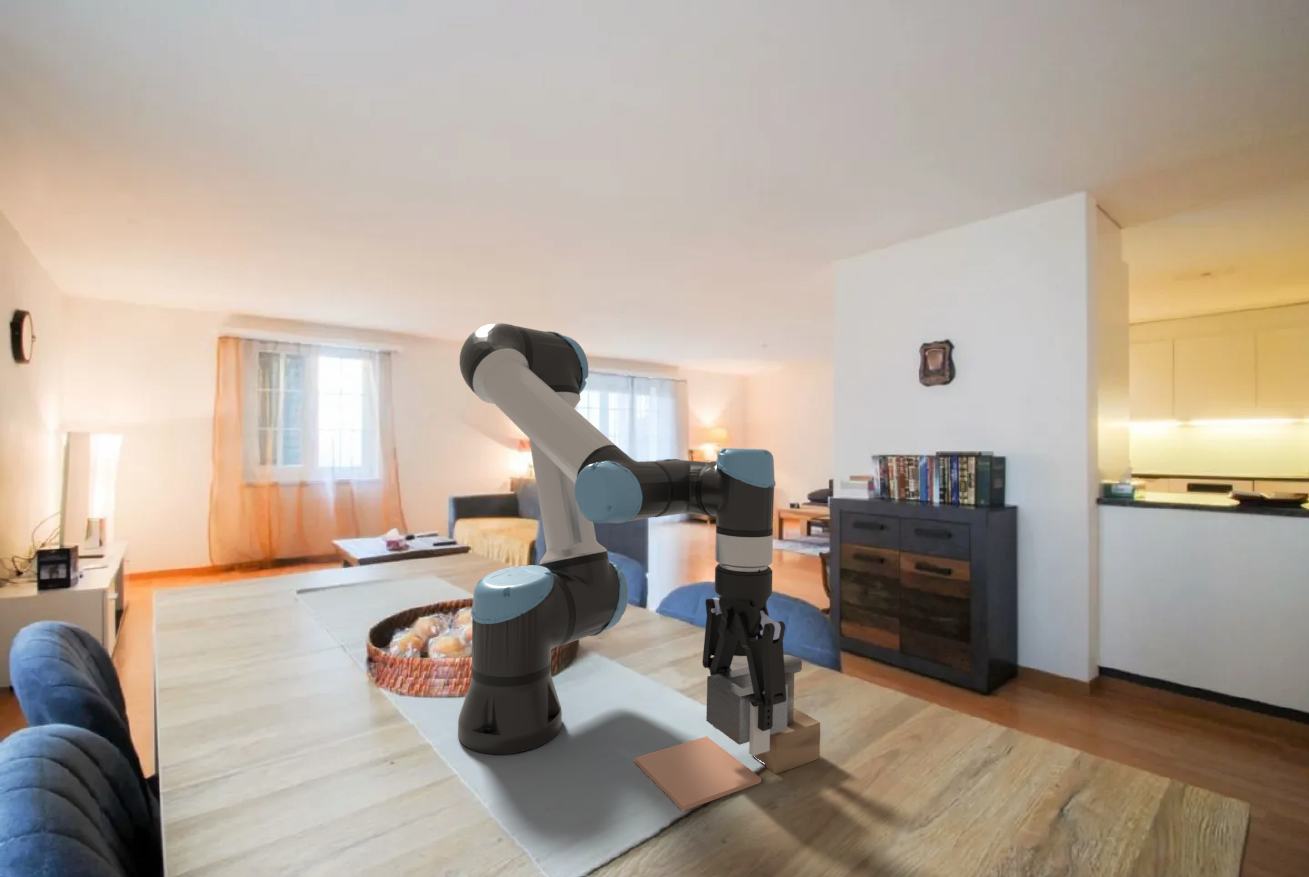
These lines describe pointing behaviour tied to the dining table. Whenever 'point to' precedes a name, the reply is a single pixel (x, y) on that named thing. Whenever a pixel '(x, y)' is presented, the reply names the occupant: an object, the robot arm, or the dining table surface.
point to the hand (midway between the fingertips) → (740, 737)
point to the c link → (737, 705)
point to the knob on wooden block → (793, 731)
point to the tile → (696, 772)
